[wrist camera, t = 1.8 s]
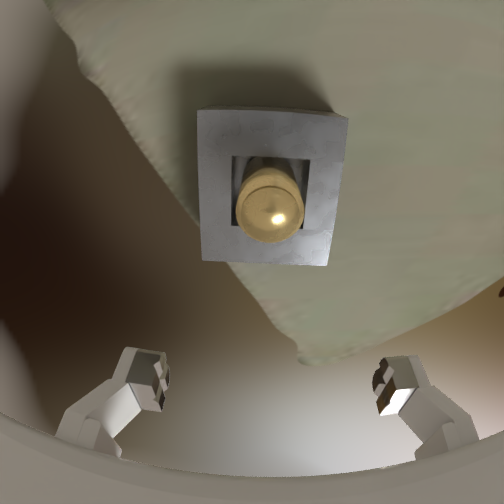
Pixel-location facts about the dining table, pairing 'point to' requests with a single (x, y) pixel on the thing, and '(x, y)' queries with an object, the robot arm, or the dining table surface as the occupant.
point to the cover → (269, 200)
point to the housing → (268, 145)
